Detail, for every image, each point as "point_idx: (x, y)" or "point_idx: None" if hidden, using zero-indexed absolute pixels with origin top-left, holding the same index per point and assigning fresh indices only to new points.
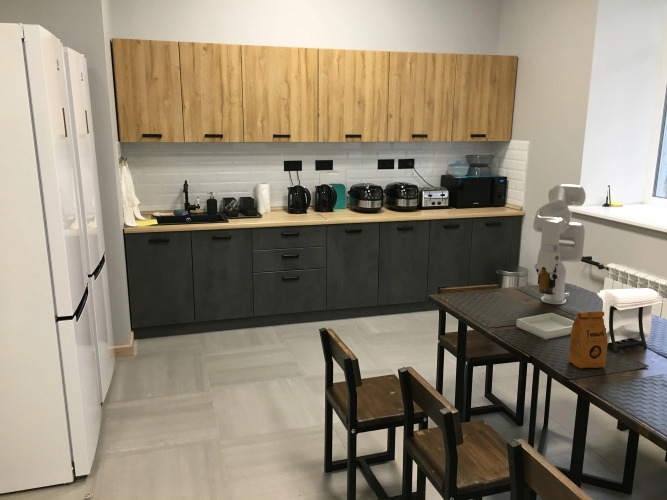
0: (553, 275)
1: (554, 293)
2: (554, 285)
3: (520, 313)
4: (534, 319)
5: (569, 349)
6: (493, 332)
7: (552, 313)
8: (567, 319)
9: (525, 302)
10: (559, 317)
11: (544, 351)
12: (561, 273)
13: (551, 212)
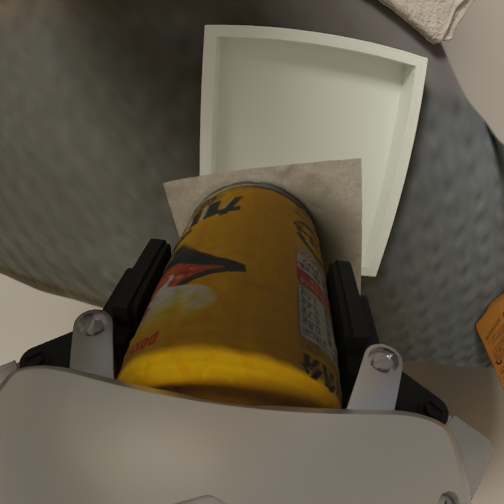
0: (341, 394)
1: (338, 221)
2: (364, 303)
3: (85, 106)
4: (213, 159)
5: (487, 351)
6: None
7: (217, 34)
8: (336, 46)
9: (6, 5)
10: (275, 39)
11: (410, 325)
12: (491, 449)
13: None
